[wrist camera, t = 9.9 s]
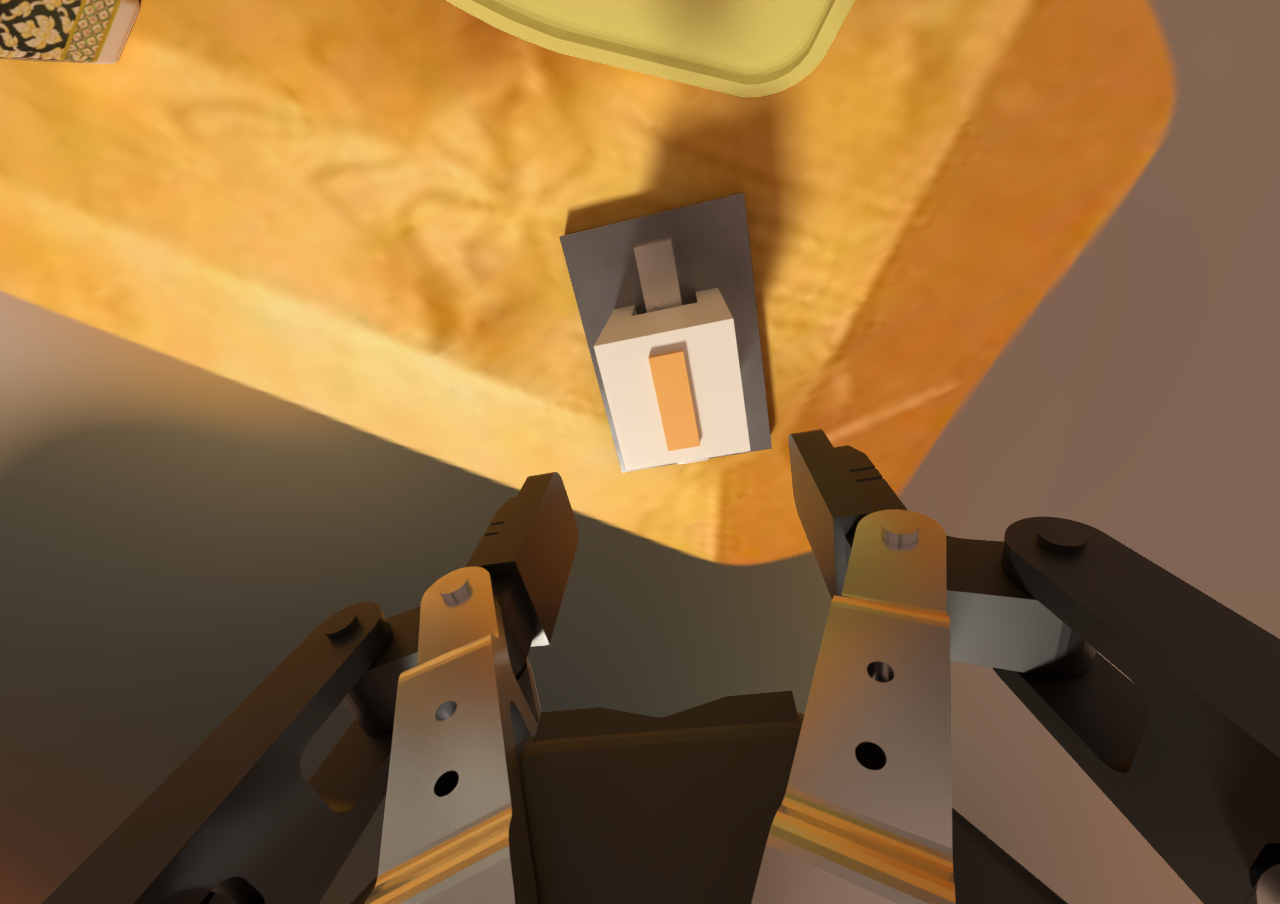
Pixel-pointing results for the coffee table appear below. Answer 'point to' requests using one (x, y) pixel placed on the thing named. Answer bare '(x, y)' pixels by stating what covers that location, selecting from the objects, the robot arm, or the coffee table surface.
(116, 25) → the ceramic cup
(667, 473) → the coffee table surface
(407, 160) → the coffee table surface
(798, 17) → the plastic component
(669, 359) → the block
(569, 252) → the panel
